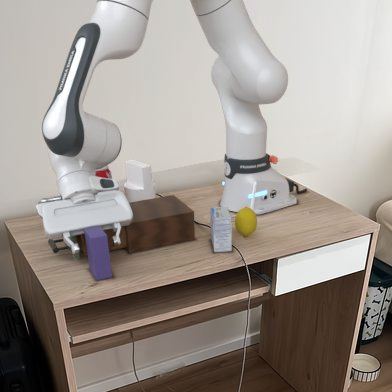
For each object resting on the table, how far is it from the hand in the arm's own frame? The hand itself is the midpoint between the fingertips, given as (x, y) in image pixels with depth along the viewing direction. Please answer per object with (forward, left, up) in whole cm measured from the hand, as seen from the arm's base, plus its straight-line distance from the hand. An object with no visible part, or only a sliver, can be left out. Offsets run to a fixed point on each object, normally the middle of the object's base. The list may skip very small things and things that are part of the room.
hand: (97, 248), depth 122 cm
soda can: (-12, -39, -6) cm, 41 cm away
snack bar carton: (0, +1, -6) cm, 6 cm away
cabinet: (-18, -13, -6) cm, 23 cm away
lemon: (-39, -2, -6) cm, 39 cm away
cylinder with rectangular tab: (-23, -37, -6) cm, 44 cm away
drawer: (-2, -13, -5) cm, 14 cm away
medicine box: (-31, 0, -6) cm, 31 cm away
